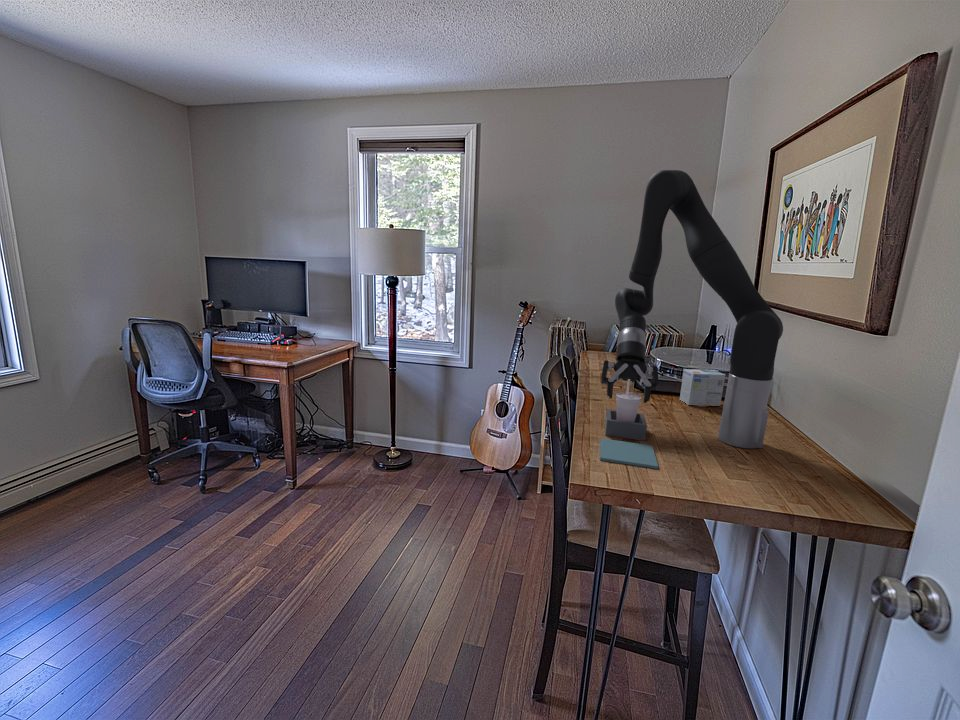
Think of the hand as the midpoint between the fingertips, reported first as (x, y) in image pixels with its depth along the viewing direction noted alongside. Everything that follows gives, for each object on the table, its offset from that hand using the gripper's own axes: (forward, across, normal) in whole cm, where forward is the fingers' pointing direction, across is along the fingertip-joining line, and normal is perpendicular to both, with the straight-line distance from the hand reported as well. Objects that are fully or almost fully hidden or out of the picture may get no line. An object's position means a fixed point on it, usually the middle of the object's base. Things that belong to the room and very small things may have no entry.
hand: (628, 399), depth 119 cm
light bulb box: (-20, +25, +32) cm, 46 cm away
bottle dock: (+6, 0, +6) cm, 9 cm away
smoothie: (+6, 0, +6) cm, 9 cm away
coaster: (+17, 0, -4) cm, 17 cm away
